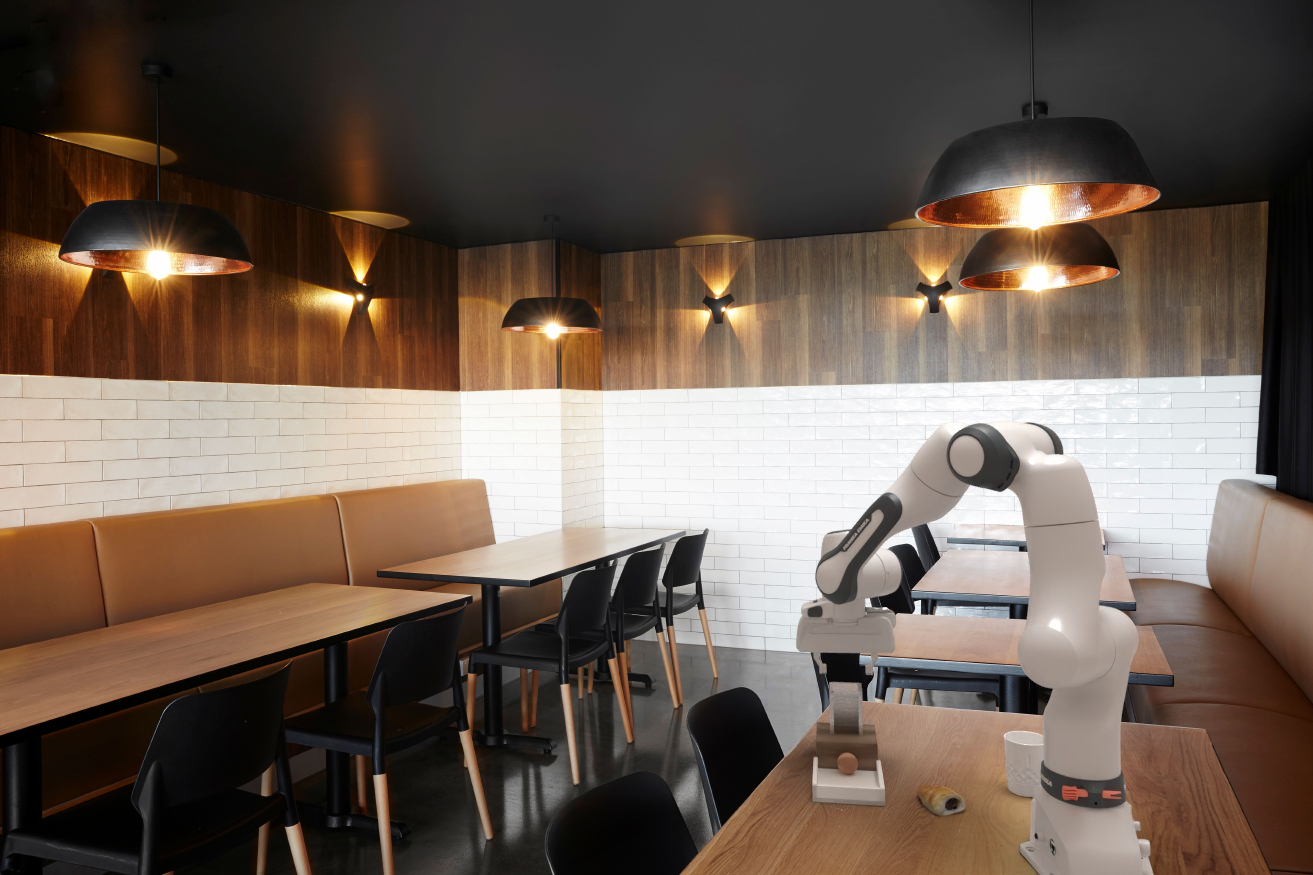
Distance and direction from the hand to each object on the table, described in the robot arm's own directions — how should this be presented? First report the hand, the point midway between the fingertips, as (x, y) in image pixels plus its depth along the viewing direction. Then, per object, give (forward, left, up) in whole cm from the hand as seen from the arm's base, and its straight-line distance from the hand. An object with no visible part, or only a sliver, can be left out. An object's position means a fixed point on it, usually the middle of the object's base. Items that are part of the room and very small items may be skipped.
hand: (846, 673), depth 184 cm
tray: (-15, 0, -18) cm, 24 cm away
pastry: (-21, -16, -18) cm, 32 cm away
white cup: (-12, -33, -18) cm, 39 cm away
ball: (-12, 0, -16) cm, 20 cm away
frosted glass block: (0, 0, -12) cm, 12 cm away
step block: (-2, 0, -18) cm, 18 cm away
